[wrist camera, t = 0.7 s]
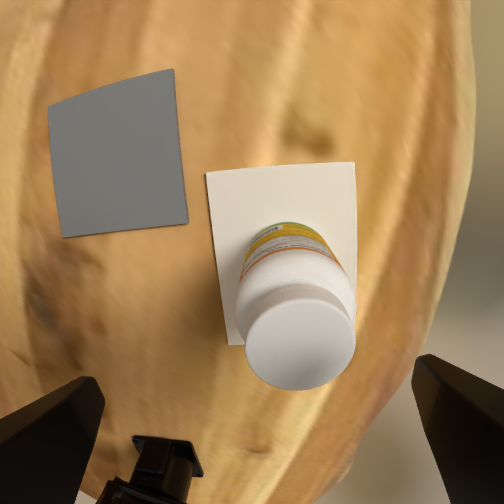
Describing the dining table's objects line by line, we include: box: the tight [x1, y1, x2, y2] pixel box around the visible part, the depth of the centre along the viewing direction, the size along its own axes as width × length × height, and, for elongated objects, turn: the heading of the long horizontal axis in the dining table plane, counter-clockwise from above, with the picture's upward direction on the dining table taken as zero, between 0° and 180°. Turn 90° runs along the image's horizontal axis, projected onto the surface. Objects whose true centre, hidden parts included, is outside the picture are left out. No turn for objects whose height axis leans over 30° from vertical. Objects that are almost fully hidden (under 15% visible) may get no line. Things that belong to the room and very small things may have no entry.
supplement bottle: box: [234, 221, 357, 390], centre depth 15 cm, size 5×5×10 cm
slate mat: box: [48, 69, 189, 238], centre depth 18 cm, size 10×10×1 cm
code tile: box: [206, 162, 357, 345], centre depth 20 cm, size 12×9×1 cm
